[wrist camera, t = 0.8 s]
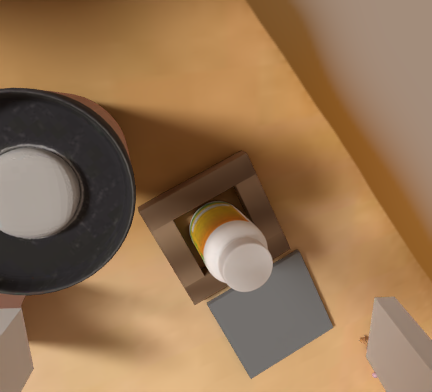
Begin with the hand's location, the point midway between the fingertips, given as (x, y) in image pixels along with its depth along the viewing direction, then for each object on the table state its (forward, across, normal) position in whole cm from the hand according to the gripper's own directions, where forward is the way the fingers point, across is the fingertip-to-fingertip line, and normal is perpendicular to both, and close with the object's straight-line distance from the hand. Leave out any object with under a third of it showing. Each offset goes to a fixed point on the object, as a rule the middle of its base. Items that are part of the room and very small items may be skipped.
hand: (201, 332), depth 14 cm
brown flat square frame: (+22, +1, -5) cm, 23 cm away
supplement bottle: (+22, +1, -5) cm, 23 cm away
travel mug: (+20, -10, +4) cm, 23 cm away
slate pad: (+23, +8, -16) cm, 29 cm away
